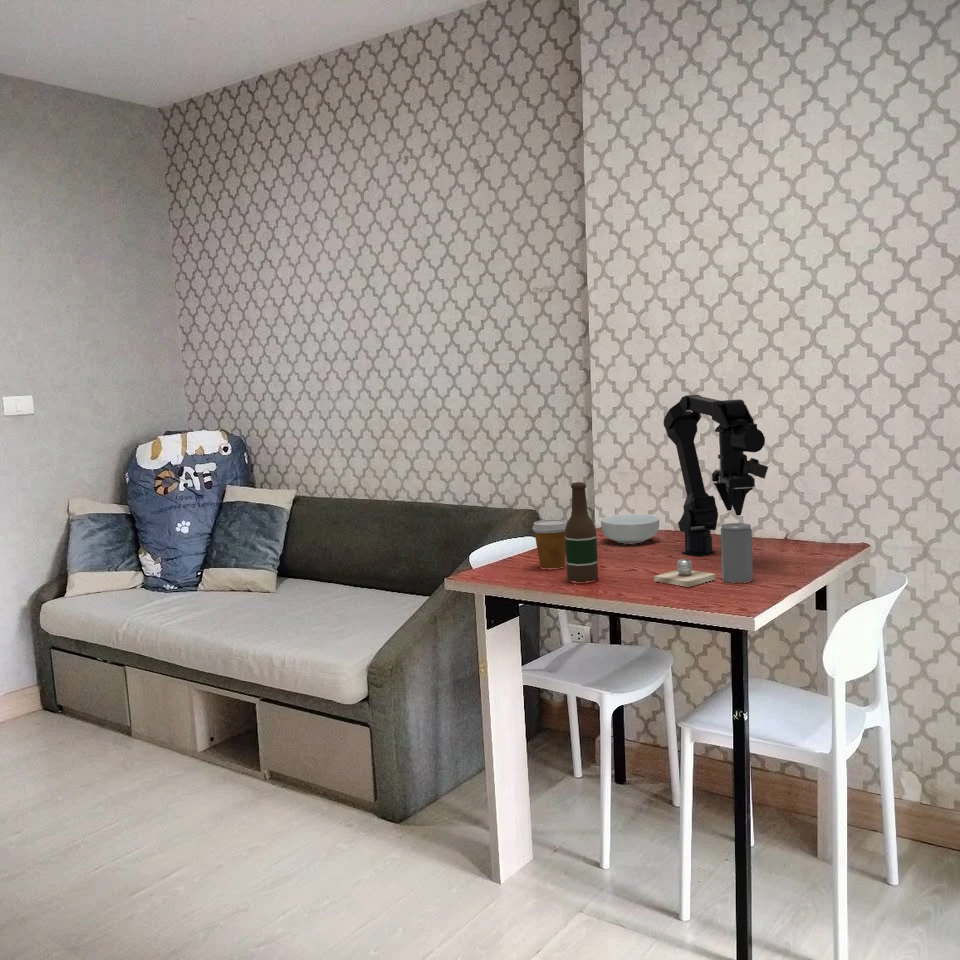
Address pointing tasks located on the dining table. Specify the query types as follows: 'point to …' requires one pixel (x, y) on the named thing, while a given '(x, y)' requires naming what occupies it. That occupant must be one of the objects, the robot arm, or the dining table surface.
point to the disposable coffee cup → (550, 542)
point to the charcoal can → (736, 552)
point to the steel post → (684, 567)
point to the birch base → (685, 578)
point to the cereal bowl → (630, 527)
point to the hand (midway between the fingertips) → (733, 512)
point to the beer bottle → (580, 539)
